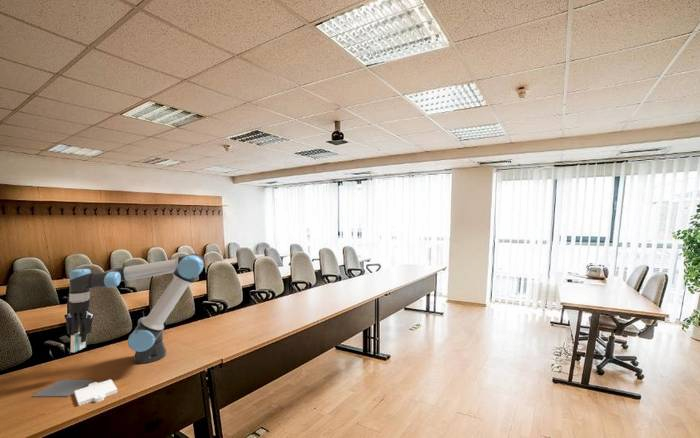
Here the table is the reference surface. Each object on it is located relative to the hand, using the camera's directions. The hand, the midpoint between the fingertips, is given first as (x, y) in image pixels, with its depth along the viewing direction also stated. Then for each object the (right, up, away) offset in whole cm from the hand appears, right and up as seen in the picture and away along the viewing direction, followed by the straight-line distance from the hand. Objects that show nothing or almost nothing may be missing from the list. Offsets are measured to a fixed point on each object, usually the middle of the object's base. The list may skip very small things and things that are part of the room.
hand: (78, 348), depth 145 cm
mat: (+1, -15, -9) cm, 17 cm away
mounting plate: (+19, -15, -13) cm, 28 cm away
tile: (0, 0, 0) cm, 0 cm away
